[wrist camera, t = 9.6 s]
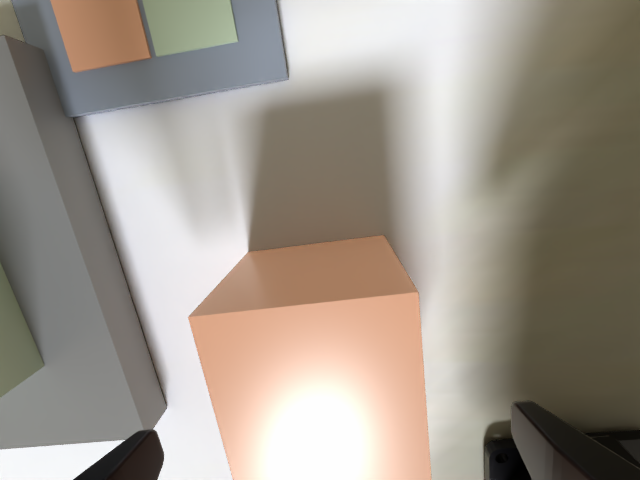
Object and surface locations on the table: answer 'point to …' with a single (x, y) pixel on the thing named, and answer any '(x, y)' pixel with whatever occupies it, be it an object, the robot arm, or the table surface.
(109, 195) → the table surface
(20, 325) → the sage brick
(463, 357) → the table surface
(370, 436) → the terracotta brick
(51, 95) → the base plate
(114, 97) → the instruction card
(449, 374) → the table surface
